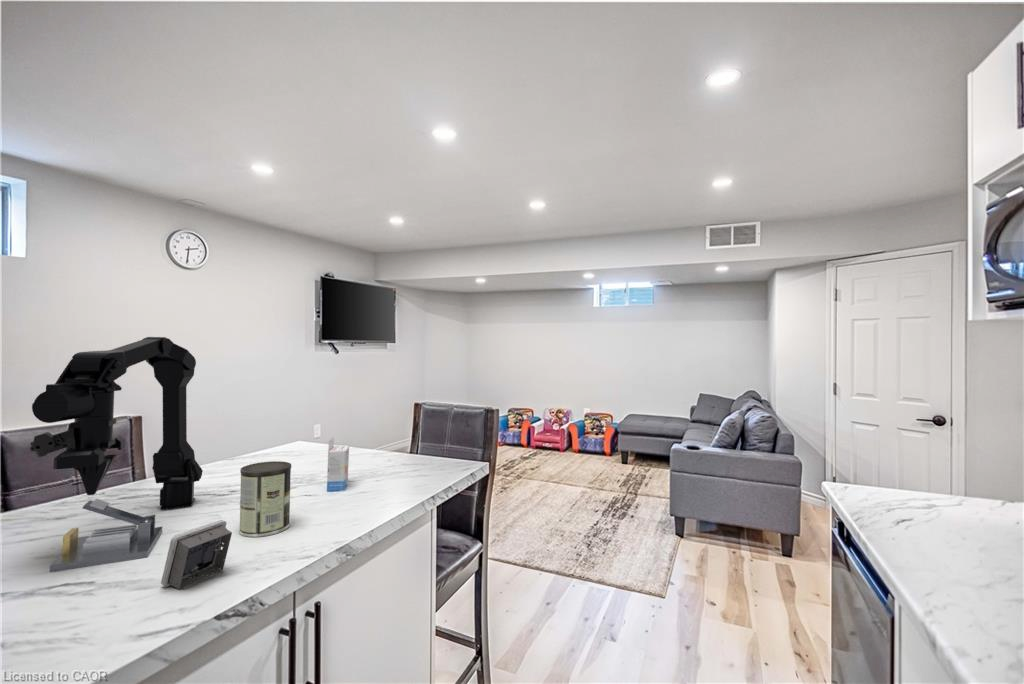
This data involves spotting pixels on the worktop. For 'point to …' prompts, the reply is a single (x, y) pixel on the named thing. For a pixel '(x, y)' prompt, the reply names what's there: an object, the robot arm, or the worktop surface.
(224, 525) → the electrical switch
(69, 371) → the robot arm
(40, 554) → the worktop surface
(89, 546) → the toggle clamp fixture
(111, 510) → the grey long bar
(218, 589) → the worktop surface
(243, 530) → the coffee can
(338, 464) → the ink box
